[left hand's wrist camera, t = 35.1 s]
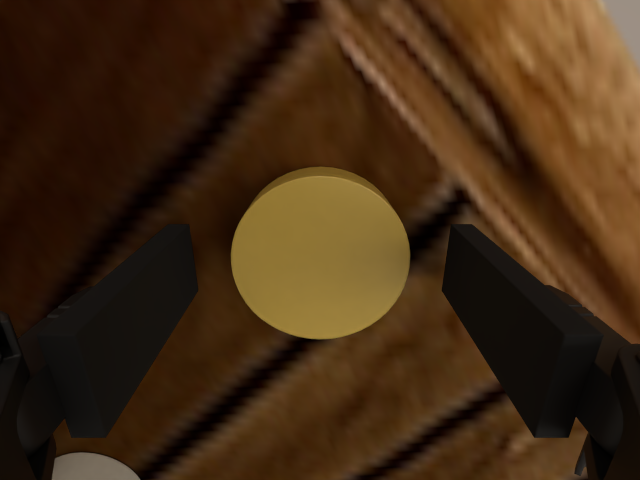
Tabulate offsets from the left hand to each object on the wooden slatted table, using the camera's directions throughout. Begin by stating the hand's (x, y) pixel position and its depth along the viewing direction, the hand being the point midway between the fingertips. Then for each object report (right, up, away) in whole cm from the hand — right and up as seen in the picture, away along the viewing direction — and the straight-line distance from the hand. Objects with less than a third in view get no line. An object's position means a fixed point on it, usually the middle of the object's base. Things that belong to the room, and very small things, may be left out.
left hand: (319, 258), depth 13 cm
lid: (0, 0, -1) cm, 1 cm away
